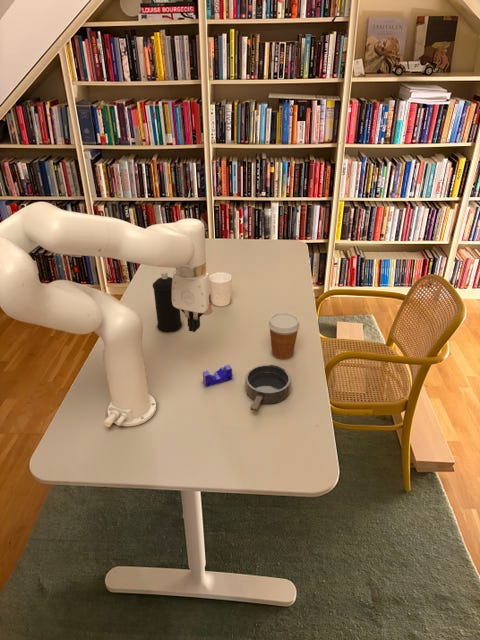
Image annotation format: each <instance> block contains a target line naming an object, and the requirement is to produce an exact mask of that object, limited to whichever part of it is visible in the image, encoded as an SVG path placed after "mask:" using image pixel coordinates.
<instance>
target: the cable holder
mask: <svg viewBox="0 0 480 640" xmlns="http://www.w3.org/2000/svg"><path fill="white" fill-rule="evenodd" d="M213 373H214V374H213V375H212V374H211V373H210V372H209V370H204V371H202V382H203V385H204V387H205V388H208V387H211V386H215V385H218V384H222V383H225V382H229V381H233V368H232V366H231V364H226V365H224V366H222V367H220V368H219V369H217V370H216V371H214V372H213Z"/></svg>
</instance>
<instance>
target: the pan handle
mask: <svg viewBox="0 0 480 640" xmlns="http://www.w3.org/2000/svg"><path fill="white" fill-rule="evenodd" d="M263 398H264V395H262V394H257V396H256V398H255V400H253V402H252V404H251V406H250V411H253V412H258V410H259V408H260V406H261V404H262V403H261V402H262V400H263Z"/></svg>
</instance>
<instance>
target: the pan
mask: <svg viewBox="0 0 480 640" xmlns="http://www.w3.org/2000/svg"><path fill="white" fill-rule="evenodd" d="M291 379H292V378H291V375H290V374H289V372H288V371H287V370H286V369H285V368H283V367H280V366H278V365H275V364H261V365H257V366H254V367H252V368H250V370H248V371H247V373H246V374H245V392H246V395H247V396H248V397H249V398H250V399H251V400H253V401H254V400H255V398H256V396H257V394H262V395H264V398H263V400H262V402H261V404H266V405H267V404H270V405H272V404H276V403H280V402H282V401H284V400H285V399H287V397H289V395H290V392H291V384H292V383H291V382H292V381H291Z"/></svg>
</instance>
